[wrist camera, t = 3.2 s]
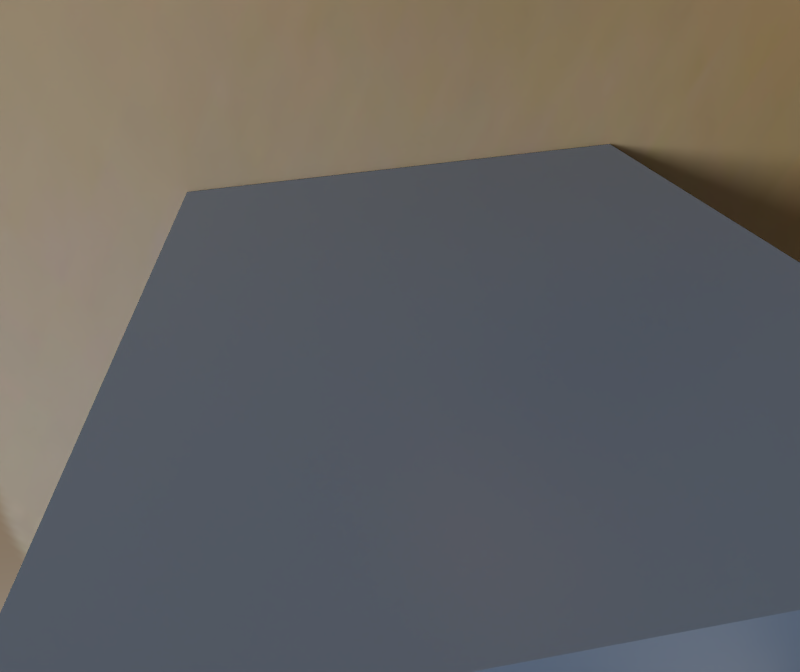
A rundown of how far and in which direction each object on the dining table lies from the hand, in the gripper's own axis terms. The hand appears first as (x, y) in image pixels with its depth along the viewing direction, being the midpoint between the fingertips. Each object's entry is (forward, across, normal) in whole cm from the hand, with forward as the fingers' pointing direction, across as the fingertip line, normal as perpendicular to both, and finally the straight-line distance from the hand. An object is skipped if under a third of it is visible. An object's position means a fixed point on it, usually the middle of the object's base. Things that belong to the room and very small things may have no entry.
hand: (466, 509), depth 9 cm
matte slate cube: (+4, 0, 0) cm, 4 cm away
